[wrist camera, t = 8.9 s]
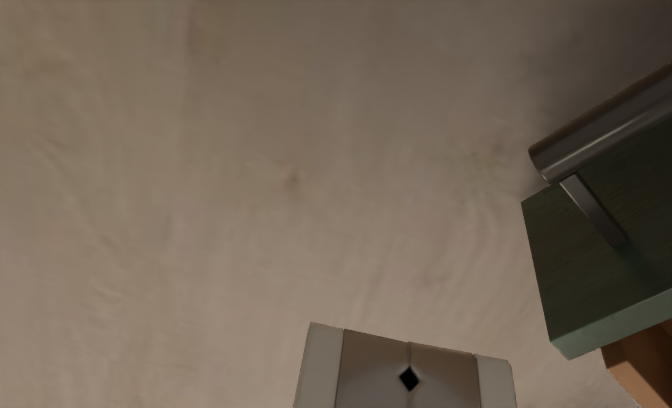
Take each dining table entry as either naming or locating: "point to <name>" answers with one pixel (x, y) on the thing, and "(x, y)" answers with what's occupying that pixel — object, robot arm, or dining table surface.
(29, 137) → the dining table surface
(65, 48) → the dining table surface
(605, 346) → the drawer
